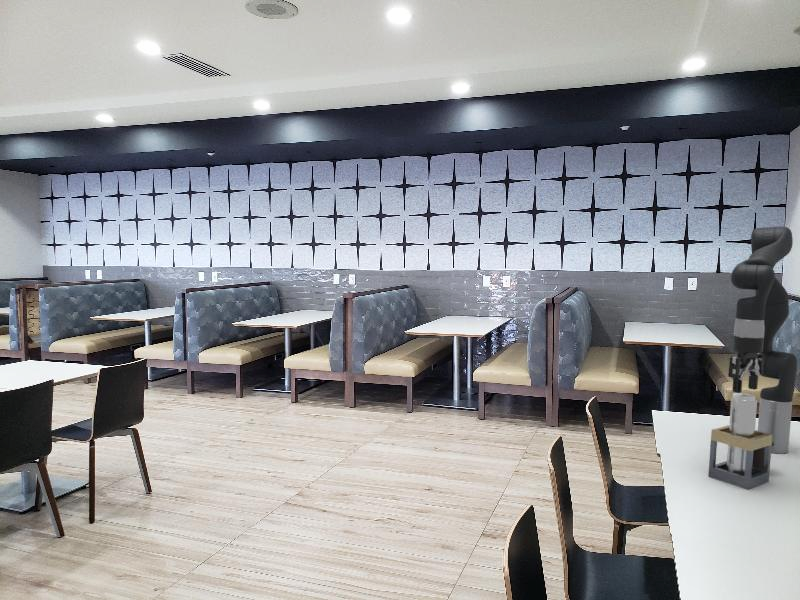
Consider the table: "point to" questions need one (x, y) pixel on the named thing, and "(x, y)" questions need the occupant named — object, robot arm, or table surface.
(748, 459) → the collar stand
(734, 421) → the silver metal cylinder
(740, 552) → the table surface
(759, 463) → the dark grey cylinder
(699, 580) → the table surface
